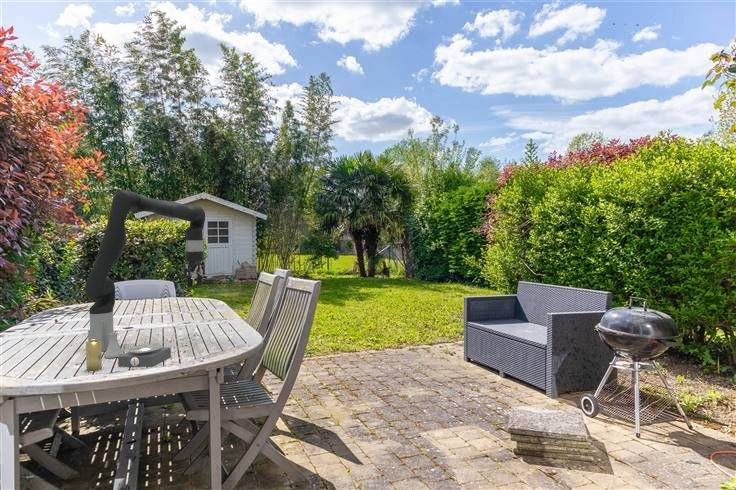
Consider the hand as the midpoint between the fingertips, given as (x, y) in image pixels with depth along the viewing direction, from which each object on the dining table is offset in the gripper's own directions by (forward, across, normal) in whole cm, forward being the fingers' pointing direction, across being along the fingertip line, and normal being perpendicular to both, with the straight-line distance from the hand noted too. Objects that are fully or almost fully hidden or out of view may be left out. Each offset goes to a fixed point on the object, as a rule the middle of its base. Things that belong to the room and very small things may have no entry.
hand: (194, 286), depth 193 cm
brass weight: (+29, +31, -25) cm, 49 cm away
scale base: (+29, +20, -11) cm, 37 cm away
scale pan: (+24, +19, -11) cm, 33 cm away
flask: (+30, +12, -31) cm, 44 cm away
